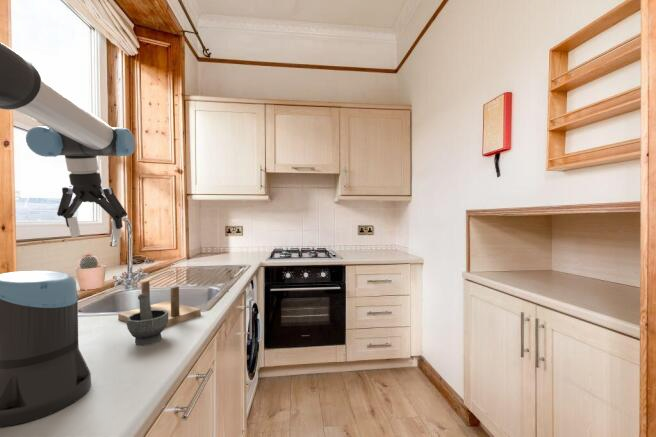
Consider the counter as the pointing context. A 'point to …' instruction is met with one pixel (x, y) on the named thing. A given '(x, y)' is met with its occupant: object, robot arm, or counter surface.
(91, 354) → the counter surface
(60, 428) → the counter surface
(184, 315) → the peg board
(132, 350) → the counter surface
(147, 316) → the mortar and pestle
